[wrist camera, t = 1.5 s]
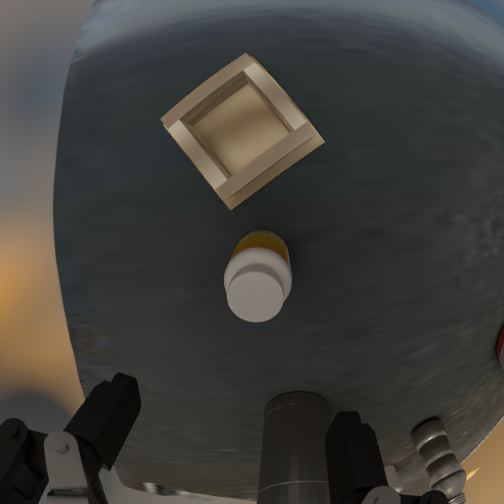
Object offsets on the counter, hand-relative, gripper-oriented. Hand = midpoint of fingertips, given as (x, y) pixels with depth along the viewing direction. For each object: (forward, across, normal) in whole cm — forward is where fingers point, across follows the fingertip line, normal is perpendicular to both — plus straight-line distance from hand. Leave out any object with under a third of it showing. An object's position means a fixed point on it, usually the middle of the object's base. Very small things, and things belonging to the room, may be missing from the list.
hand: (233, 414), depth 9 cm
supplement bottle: (+20, 0, 0) cm, 20 cm away
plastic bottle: (+20, -35, +28) cm, 50 cm away
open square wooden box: (+20, +4, -12) cm, 23 cm away
